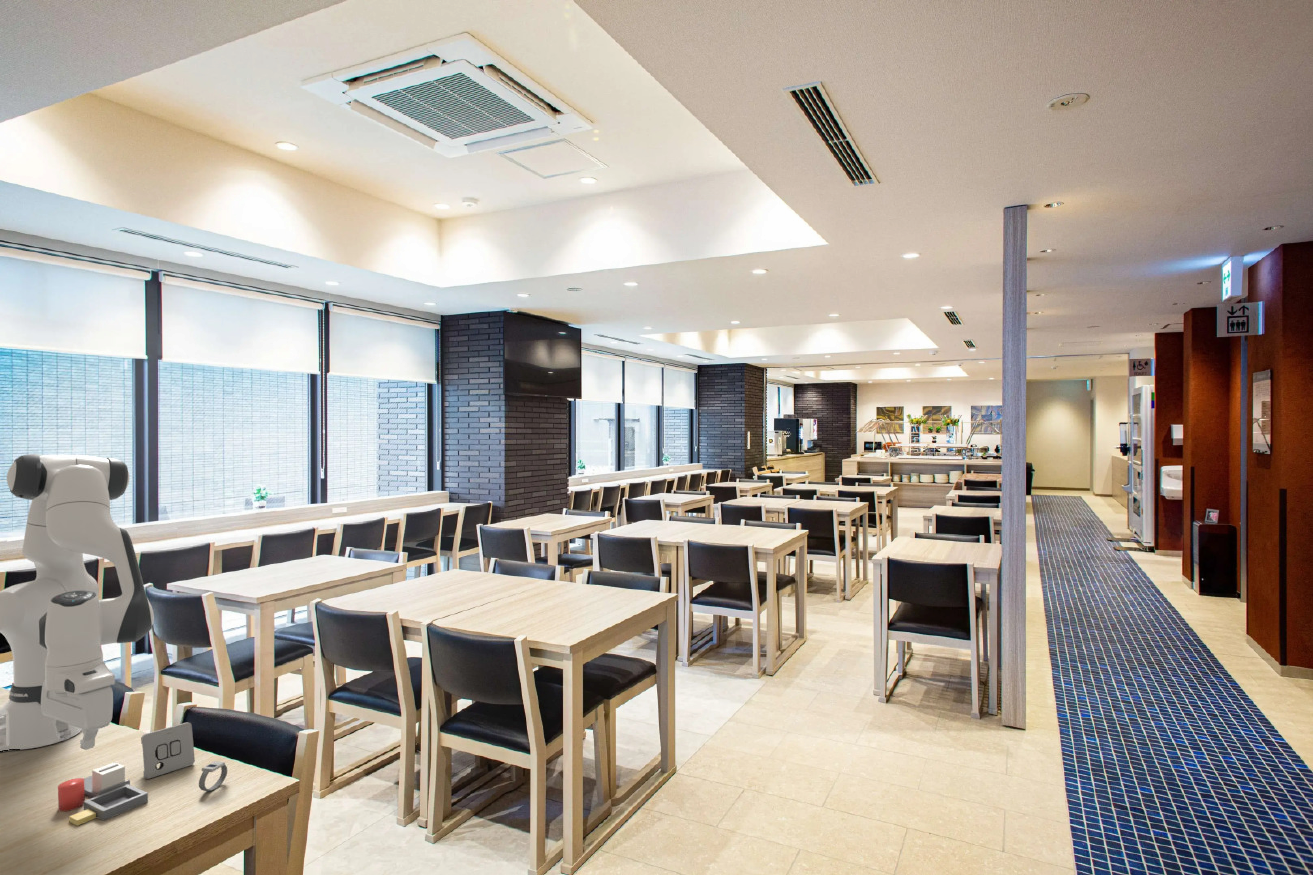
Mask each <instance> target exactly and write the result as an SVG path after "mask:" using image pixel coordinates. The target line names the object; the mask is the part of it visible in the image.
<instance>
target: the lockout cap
mask: <svg viewBox="0 0 1313 875" xmlns="http://www.w3.org/2000/svg"><path fill="white" fill-rule="evenodd" d="M57 799H58V800H57V802H58V811H59V812H69V811H73V810H75V809H78V808H80V807H82V806H84V801H86V795H85V787H84V778H81V777H77V778H72V779H68V780H65V781H63V782H61V783H60V784H58V786H57Z"/></svg>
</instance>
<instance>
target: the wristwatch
mask: <svg viewBox="0 0 1313 875" xmlns="http://www.w3.org/2000/svg"><path fill="white" fill-rule="evenodd" d="M219 769H220V770H221V773H220V776H219V778H218V780H217V781H216V782H215V783H214V784H213V785H212V786H210V787H209V788H207V787H206V779H207V777H208V775H209V773H213V772H215V771H216V770H219ZM201 772H202V773H201V775H200V777H199V780H198V788H199V789H200V790H201V791H204V792H213V791H215V790H216V789H217V788H219V787H220V786H221V785H222V784H223V783H224V781H225V780H226V777H227V774H228V767H227V765H226V762H225V761H217V760H214V761H213V762H210V763H209V764H207V765H205V766H204V767H201Z"/></svg>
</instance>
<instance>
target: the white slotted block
mask: <svg viewBox="0 0 1313 875" xmlns="http://www.w3.org/2000/svg"><path fill="white" fill-rule="evenodd" d="M91 773H92V774H91V776H92V791H93V792H95V793H97V794H98V791H100V790H102V789H105V788H107V787H110V786H113V785H115V784H118V783H120V782H123V781H126V780H125V779H126V766H124V765H122V764H120V763H118V762H111V763H108V764H107V765H104V766H101V767H98V768H95V769H92V770H91Z"/></svg>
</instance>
